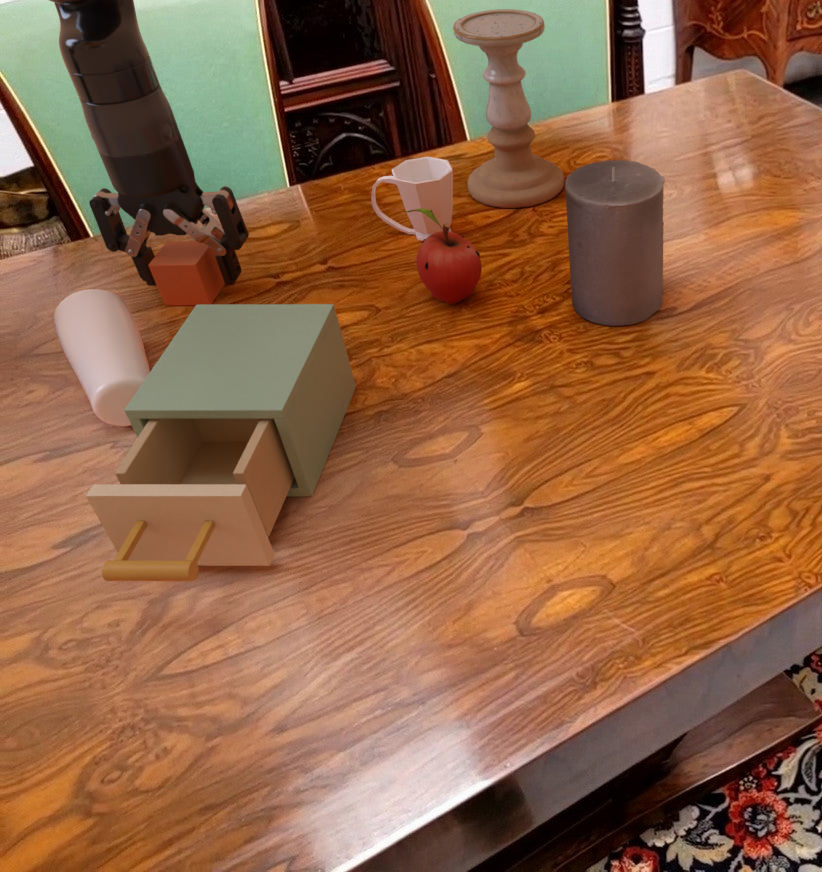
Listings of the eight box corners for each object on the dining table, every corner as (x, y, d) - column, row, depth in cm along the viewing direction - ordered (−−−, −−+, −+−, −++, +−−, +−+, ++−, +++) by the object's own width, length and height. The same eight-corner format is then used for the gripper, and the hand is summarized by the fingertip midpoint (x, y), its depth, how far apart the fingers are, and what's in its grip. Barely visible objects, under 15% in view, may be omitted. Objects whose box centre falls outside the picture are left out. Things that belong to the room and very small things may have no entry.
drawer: (246, 621, 67) (213, 551, 62) (93, 620, 67) (48, 551, 62) (319, 446, 81) (297, 378, 76) (192, 446, 81) (162, 378, 76)
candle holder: (495, 218, 113) (473, 48, 100) (452, 181, 121) (426, 18, 108) (582, 192, 118) (572, 26, 105) (536, 157, 126) (521, -1, 113)
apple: (491, 280, 103) (479, 196, 96) (481, 314, 97) (468, 228, 91) (421, 280, 103) (405, 196, 96) (408, 315, 98) (390, 229, 91)
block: (164, 305, 100) (147, 264, 96) (182, 281, 104) (167, 240, 100) (211, 305, 100) (195, 264, 96) (227, 280, 103) (213, 240, 100)
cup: (457, 248, 108) (446, 183, 103) (371, 247, 108) (357, 183, 103) (467, 219, 113) (458, 156, 108) (386, 218, 114) (373, 155, 108)
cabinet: (312, 496, 77) (282, 409, 71) (165, 496, 78) (123, 410, 72) (356, 386, 89) (333, 303, 82) (228, 386, 89) (196, 304, 83)
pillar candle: (564, 284, 102) (554, 153, 92) (651, 272, 103) (649, 141, 94) (582, 334, 95) (573, 197, 85) (675, 319, 96) (677, 183, 86)
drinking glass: (136, 446, 86) (102, 358, 94) (185, 393, 85) (146, 309, 94) (65, 417, 80) (36, 326, 89) (117, 360, 80) (82, 275, 89)
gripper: (224, 120, 93) (270, 263, 104) (83, 122, 93) (143, 264, 104) (196, 152, 87) (247, 300, 98) (45, 154, 88) (113, 301, 98)
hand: (194, 281), depth 101 cm, fingers open, 8 cm apart
